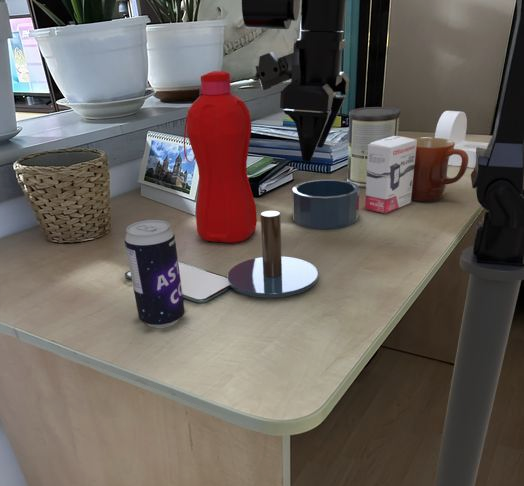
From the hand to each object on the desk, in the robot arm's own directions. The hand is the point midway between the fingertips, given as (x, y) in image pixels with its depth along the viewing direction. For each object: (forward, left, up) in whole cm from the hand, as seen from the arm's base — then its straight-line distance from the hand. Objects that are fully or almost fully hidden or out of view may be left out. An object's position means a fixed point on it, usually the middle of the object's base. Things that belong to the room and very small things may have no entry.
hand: (313, 153), depth 80 cm
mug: (-16, -28, -14) cm, 36 cm away
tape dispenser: (-18, -61, -14) cm, 65 cm away
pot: (+1, -13, -14) cm, 19 cm away
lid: (+2, +15, -14) cm, 20 cm away
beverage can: (+12, +29, -14) cm, 34 cm away
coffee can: (-3, -39, -14) cm, 42 cm away
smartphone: (+15, +18, -14) cm, 27 cm away
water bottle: (+16, -1, -14) cm, 21 cm away
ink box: (-9, -22, -14) cm, 28 cm away
